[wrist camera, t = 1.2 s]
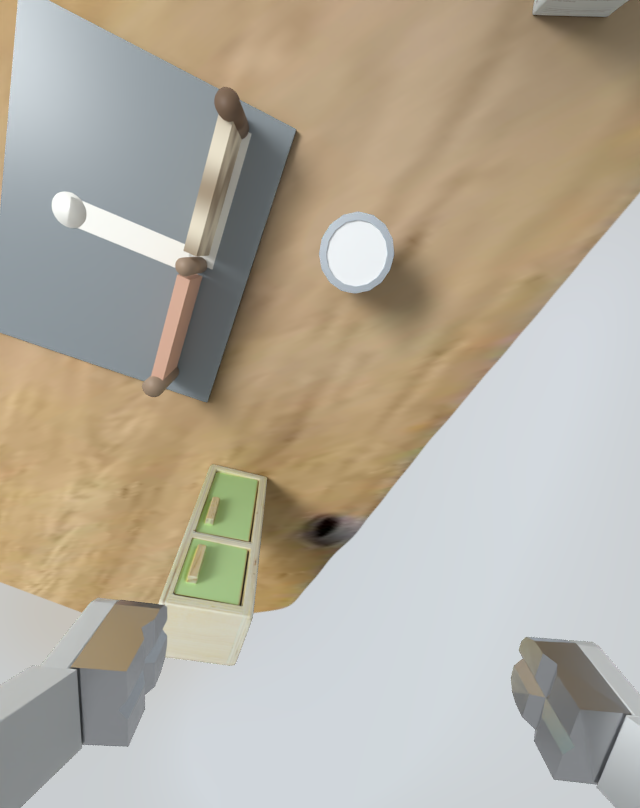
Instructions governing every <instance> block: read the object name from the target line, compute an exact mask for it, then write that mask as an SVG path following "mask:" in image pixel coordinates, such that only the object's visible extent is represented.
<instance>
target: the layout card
mask: <svg viewBox="0 0 640 808" xmlns="http://www.w3.org/2000/svg"><path fill="white" fill-rule="evenodd" d="M218 90H219V89H218V88H216V87H214V86H212V85H210V84H208V83H206V82H204V81H202V80H201V79H199V78H197V77H195V76H193V75H191V74H189V73H187V72H185V71H183V70H181V69H179V68H177V67H176V66H174V65H172V64H170V63H168V62H166V61H164V60H162V59H160V58H158V57H156V56H154V55H152V54H151V53H149V52H147V51H145V50H143V49H141V48H139V47H137V46H135V45H133V44H131V43H129V42H127V41H126V40H124V39H122V38H120V37H118V36H116V35H114V34H112V33H110V32H108V31H106V30H104V29H102V28H101V27H99V26H97V25H95V24H93V23H91V22H89V21H87V20H85V19H83V18H81V17H79V16H77V15H76V14H74V13H72V12H70V11H68V10H66V9H64V8H62V7H60V6H58V5H56V4H54V3H52V2H51V1H49V0H18V6H17V18H16V30H15V41H14V53H13V65H12V77H11V88H10V100H9V112H8V124H7V136H6V147H5V159H4V171H3V183H2V194H1V206H0V333H3V334H6V335H9V336H12V337H15V338H18V339H21V340H24V341H27V342H30V343H33V344H35V345H38V346H41V347H44V348H47V349H50V350H53V351H56V352H59V353H62V354H65V355H68V356H71V357H74V358H77V359H80V360H83V361H86V362H89V363H92V364H95V365H97V366H100V367H103V368H106V369H109V370H112V371H115V372H118V373H121V374H124V375H127V376H130V377H133V378H136V379H139V380H142V381H145V380H146V379H147V378H149V377H150V376H151V374H152V370H153V367H154V363H155V359H156V355H157V351H158V347H159V343H160V339H161V335H162V332H163V328H164V324H165V320H166V316H167V312H168V308H169V304H170V301H171V297H172V293H173V289H174V285H175V281H176V277H177V275H178V274H179V273H178V272H177V271H176V268H175V263H176V261H177V260H178V259H179V258H182V257H197V256H194V255H192V254H189V253H187V252H185V251H183V250H184V246H185V242H186V239H187V235H188V231H189V227H190V223H191V219H192V215H193V211H194V207H195V204H196V200H197V196H198V192H199V188H200V184H201V180H202V176H203V173H204V169H205V165H206V161H207V157H208V153H209V149H210V145H211V142H212V138H213V134H214V130H215V126H216V122H217V118H218V112H217V110H216V108H215V104H214V98H215V95H216V93H217V91H218ZM240 102H241V105H242V107H243V110H244V113H245V116H246V118H247V121H248V124H249V132H248V135H247V136H246V137H245V138H244V139H242V140H241V144H240V147H239V151H238V155H237V158H236V162H235V165H234V169H233V172H232V176H231V179H230V183H229V186H228V190H227V193H226V197H225V201H224V204H223V208H222V211H221V215H220V218H219V222H218V225H217V229H216V232H215V236H214V239H213V243H212V246H211V250H210V254H209V256H200V257H203V258H204V259H205V260H206V262H207V269H206V271H204V272H202V273H198V275H201V276H203V277H202V280H201V284H200V287H199V291H198V294H197V298H196V301H195V305H194V308H193V312H192V316H191V319H190V323H189V326H188V330H187V333H186V337H185V340H184V344H183V347H182V351H181V355H180V358H179V362H178V365H177V367H178V369H179V375H178V376H177V377H176V378H175V380H174V381H173V382H172V383H171V384H170V385H169V386H168V387H167V388H166V389H168V390H171V391H174V392H177V393H180V394H183V395H186V396H189V397H192V398H195V399H198V400H201V401H204V402H208V399H209V396H210V393H211V390H212V387H213V384H214V381H215V378H216V375H217V372H218V369H219V366H220V363H221V360H222V357H223V353H224V350H225V347H226V344H227V341H228V338H229V335H230V332H231V329H232V326H233V323H234V320H235V317H236V314H237V310H238V307H239V304H240V301H241V298H242V295H243V292H244V289H245V286H246V283H247V280H248V277H249V274H250V271H251V268H252V264H253V261H254V258H255V255H256V252H257V249H258V246H259V243H260V240H261V237H262V234H263V231H264V228H265V225H266V222H267V218H268V215H269V212H270V209H271V206H272V203H273V200H274V197H275V194H276V191H277V188H278V185H279V182H280V179H281V176H282V172H283V169H284V166H285V163H286V160H287V157H288V154H289V151H290V148H291V145H292V142H293V139H294V136H295V133H296V129H295V128H293V127H291V126H289V125H287V124H285V123H283V122H281V121H279V120H277V119H275V118H274V117H272V116H270V115H268V114H266V113H264V112H262V111H260V110H258V109H256V108H254V107H252V106H250V105H249V104H247V103H245V102H243V101H241V100H240Z"/></svg>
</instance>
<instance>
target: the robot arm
mask: <svg viewBox="0 0 640 808" xmlns="http://www.w3.org/2000/svg"><path fill="white" fill-rule="evenodd" d="M166 621H167V607H166V606H165V605H160V604H152V603H143V602H135V601H126V600H113V599H105V598H96V599H95V600H93V601H92V602H91V603H89V605H88V606H87V607H86V609H85V610H84V611H83V612H82V614H81V615H80V616H79V618H78V619H77V620H76V621H75V622H74V624H73V625H72V626H71V627H70V629H69V630H68V631H67V632H66V634H65V635H64V636H63V638H62V639H61V640H60V641H59V643H58V644H57V645H56V646H55V648H54V649H53V650H52V651H51V653H50V654H49V655H48V656H47V658H46V659H45V660H44V661H43V663H42V664H41V665H40V666H31V667H29V668H27V669H26V670H24V671H22V672H21V673H19V674H17V675H16V676H14V677H12V678H11V679H9V680H8V681H6V682H4V683H2V684H1V685H0V808H21V807H22V806H23V805H24V804H25V803H26V801H28V800H29V799H30V798H31V797H32V796H33V795H34V794H35V793H36V792H37V791H38V790H39V789H40V788H41V787H42V786H43V785H44V784H45V783H46V782H47V781H48V780H49V779H50V778H51V777H52V776H54V775H55V773H57V772H58V771H59V770H60V769H61V768H62V767H63V766H64V765H65V764H66V763H67V762H68V761H69V760H70V759H71V758H72V757H73V756H74V755H75V754H76V753H77V752H78V751H79V750H80V749H81V748H82V745H104V746H127V747H128V746H129V744H130V741H131V739H132V737H133V735H134V732H135V730H136V728H137V726H138V723H139V721H140V719H141V717H142V714H143V712H144V710H145V694H147V693H148V692H149V691H150V690H151V689H152V688H154V687H155V685H156V682H157V680H158V678H159V675H160V673H161V670H162V666H163V662H164V659H165V655H166V649H167V635H166V633H165V632H164V631H163V627H164V625H165V623H166ZM519 652H520V654H521V656H522V658H523V659H522V660H521V661H519V662H518V663H517V664H516V665H514V668H513V672H512V676H511V684H512V693H513V696H514V699H515V703H516V705H517V707H518V709H519V711H520V714H521V716H522V717H523V718H524V719H525V720H526V721H527V722H528V723H529V724H530V725H531V726H532V727H533V728H534V729H535V736H534V742H535V743H536V745H537V747H538V749H539V751H540V753H541V755H542V757H543V759H544V761H545V763H546V765H547V767H548V769H549V771H550V773H551V775H552V777H553V779H554V780H563V781H570V782H579V783H588V784H597V788H598V789H599V790H600V791H601V792H602V794H603V795H604V796H605V797H606V798H607V799H608V800H609V801H610V802H611V803H612V804H613V805H614V806H615V808H640V694H639V693H638V692H637V690H636V689H635V688H634V687H633V686H632V684H631V683H630V682H629V681H628V680H627V679H626V677H625V676H624V675H623V674H622V673H621V671H620V670H619V669H618V668H617V667H616V665H615V664H614V663H613V662H612V661H611V660H610V659H609V657H608V656H607V655H606V654H605V653H604V651H603V650H602V649H601V648H600V647H599V646H597V645H596V644H595V643H593V642H586V641H572V640H570V641H568V640H558V639H547V638H534V637H533V638H532V637H526V638H525V639H523V640H522V642H521V645H520V648H519Z"/></svg>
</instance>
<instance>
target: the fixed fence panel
mask: <svg viewBox="0 0 640 808" xmlns="http://www.w3.org/2000/svg"><path fill="white" fill-rule="evenodd" d="M214 104H215V108H216V110H217V112H218V118H217V122H216V126H215V130H214V134H213V138H212V142H211V145H210V149H209V153H208V157H207V161H206V165H205V169H204V173H203V176H202V180H201V184H200V188H199V192H198V196H197V200H196V204H195V207H194V211H193V215H192V219H191V223H190V227H189V231H188V235H187V239H186V242H185V246H184V250H183V251H185V252H187V253H189V254H192V255H194V256H209V254H210V250H211V246H212V243H213V239H214V236H215V232H216V229H217V225H218V222H219V218H220V215H221V211H222V208H223V204H224V201H225V197H226V193H227V190H228V186H229V183H230V179H231V176H232V172H233V169H234V165H235V162H236V158H237V155H238V151H239V147H240V144H241V140H242V139H244V138H245V137H246V136H247V135H248V132H249V124H248V121H247V118H246V116H245V113H244V110H243V107H242V105H241V102H240V99H239V97H238V95H237V93H236V92H235V91H234V90H233V89H231V88H228V87H223V88H221V89H219V90H218V91H217V93H216V95H215V98H214Z"/></svg>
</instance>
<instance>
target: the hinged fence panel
mask: <svg viewBox="0 0 640 808" xmlns="http://www.w3.org/2000/svg"><path fill="white" fill-rule="evenodd" d="M175 268H176V271H177V272H178V273H179V274H178V275H177V277H176V281H175V285H174V289H173V293H172V297H171V301H170V304H169V308H168V312H167V316H166V320H165V324H164V328H163V332H162V335H161V339H160V343H159V347H158V351H157V355H156V359H155V363H154V367H153V370H152V374H151V376H150V377H149V378H147V379H146V380H145V381H144V382H143V385H142V388H143V391H144V392H145V393H146V394H147V395H148V396H151V397H157V396H159V395H161V393H162V392H163V391H164V390H165V389H166V388H167V387H168V386H169V385H170V384H171V383H172V382H173V381H174V380H175V378H176V377H177V376H178V375H179V369H178V367H177V365H178V362H179V358H180V355H181V351H182V347H183V344H184V340H185V337H186V333H187V330H188V326H189V323H190V319H191V316H192V312H193V308H194V305H195V301H196V298H197V294H198V291H199V287H200V284H201V280H202V277H203V276H201V275H198V273H202V272H204V271H206V269H207V262H206V260H205V259H204V258H203V257H200V256H197V257H182V258H179V259H178V260H177V261H176V263H175Z"/></svg>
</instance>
